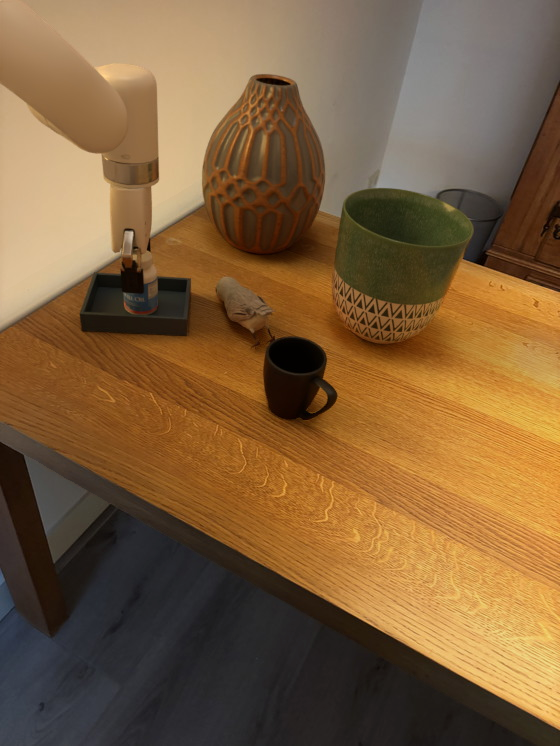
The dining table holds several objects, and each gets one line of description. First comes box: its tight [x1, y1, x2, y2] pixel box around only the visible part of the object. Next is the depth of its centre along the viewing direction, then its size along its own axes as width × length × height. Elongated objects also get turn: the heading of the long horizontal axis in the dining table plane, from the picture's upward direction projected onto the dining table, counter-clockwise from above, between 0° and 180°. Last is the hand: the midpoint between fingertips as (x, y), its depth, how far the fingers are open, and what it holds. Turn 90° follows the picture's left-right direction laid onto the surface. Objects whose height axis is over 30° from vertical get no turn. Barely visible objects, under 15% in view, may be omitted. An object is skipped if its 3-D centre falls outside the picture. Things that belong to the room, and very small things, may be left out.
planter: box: [331, 187, 475, 345], centre depth 87 cm, size 20×20×21 cm
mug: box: [262, 335, 338, 422], centre depth 73 cm, size 8×12×10 cm
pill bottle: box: [123, 249, 158, 315], centre depth 87 cm, size 6×5×10 cm
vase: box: [201, 73, 326, 255], centre depth 105 cm, size 24×24×30 cm
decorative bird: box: [215, 275, 276, 350], centre depth 89 cm, size 5×16×8 cm, turn 33°
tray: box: [79, 271, 192, 337], centre depth 89 cm, size 16×12×3 cm
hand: (137, 275), depth 86 cm, fingers open, 9 cm apart
